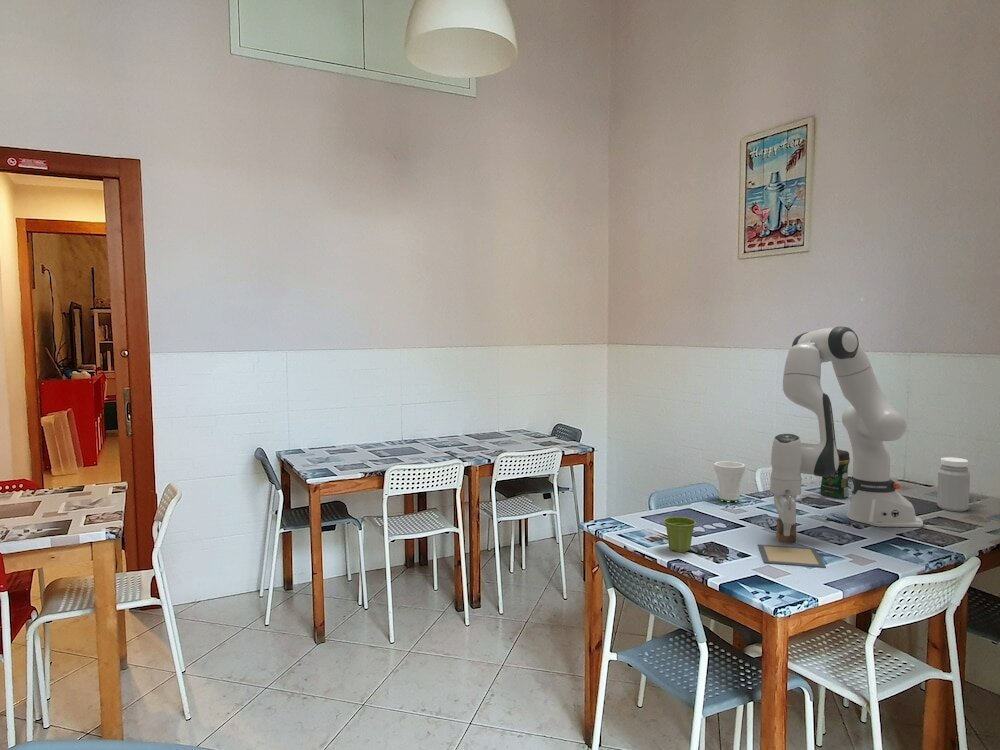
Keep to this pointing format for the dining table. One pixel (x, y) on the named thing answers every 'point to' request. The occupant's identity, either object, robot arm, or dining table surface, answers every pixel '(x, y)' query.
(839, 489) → the coffee jar
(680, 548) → the plant pot
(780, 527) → the walnut block
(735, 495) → the cup
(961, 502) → the jar
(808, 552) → the coaster mat
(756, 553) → the dining table surface
